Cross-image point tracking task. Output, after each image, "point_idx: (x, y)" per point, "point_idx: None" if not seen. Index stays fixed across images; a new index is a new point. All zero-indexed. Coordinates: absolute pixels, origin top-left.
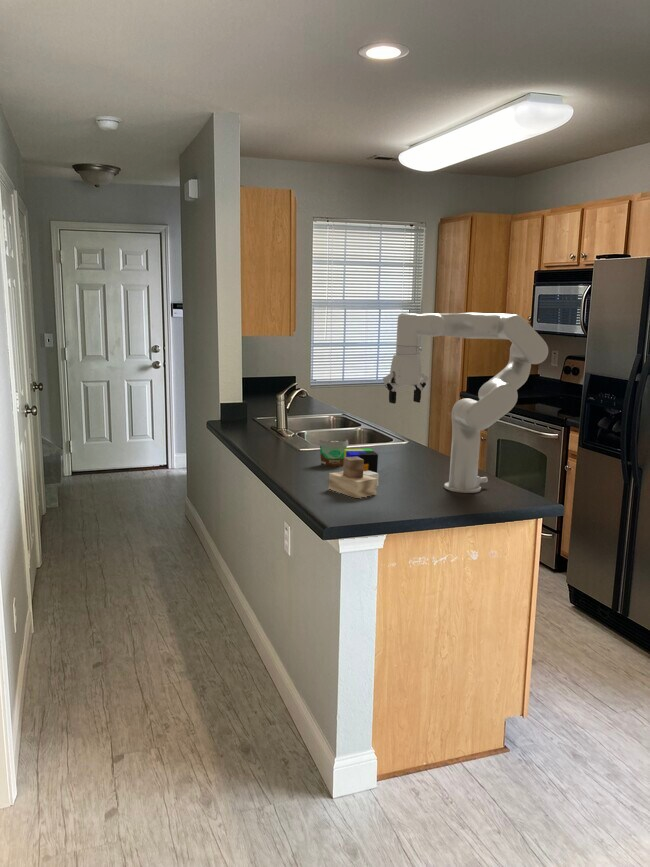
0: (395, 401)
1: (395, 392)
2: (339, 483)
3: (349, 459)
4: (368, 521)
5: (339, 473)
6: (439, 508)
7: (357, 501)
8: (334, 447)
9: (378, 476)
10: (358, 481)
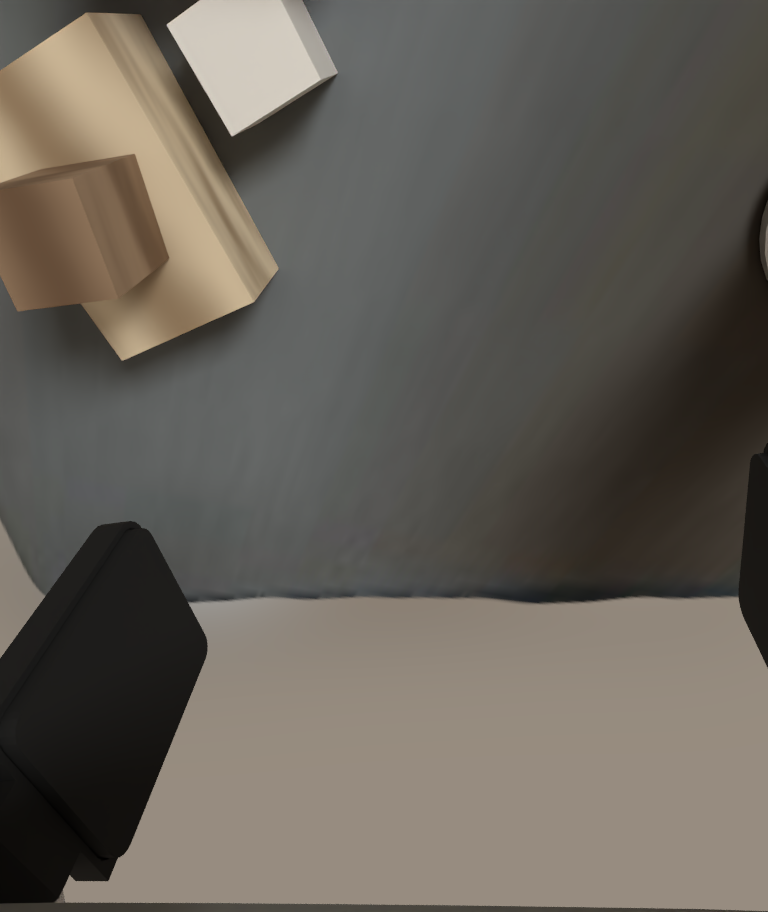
0: (188, 679)
1: (101, 860)
2: None
3: (11, 279)
4: None
5: (14, 125)
6: (501, 511)
7: (163, 360)
8: None
9: (323, 79)
10: (132, 348)
